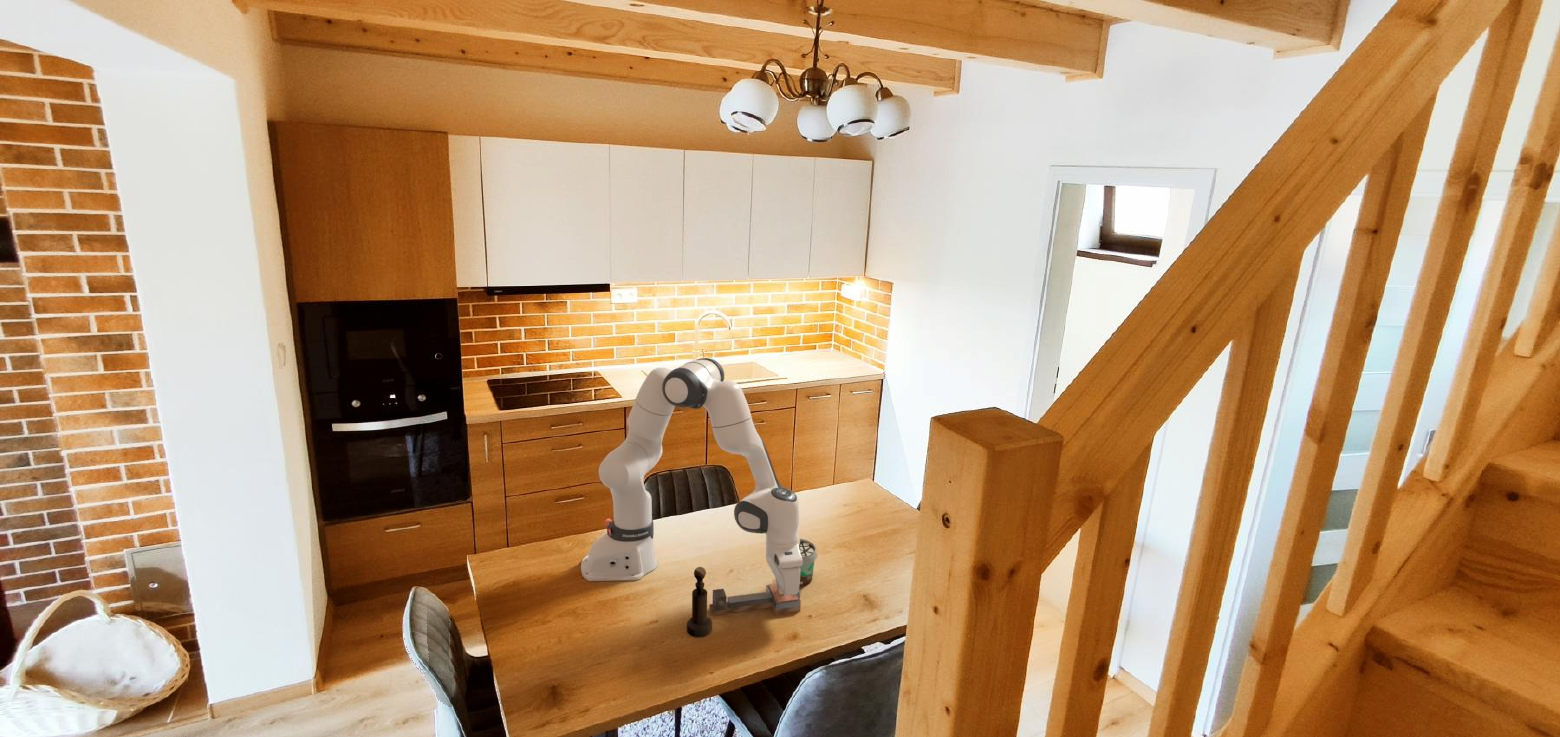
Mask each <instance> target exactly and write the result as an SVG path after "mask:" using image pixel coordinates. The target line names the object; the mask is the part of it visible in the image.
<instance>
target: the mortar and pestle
mask: <svg viewBox="0 0 1560 737" xmlns="http://www.w3.org/2000/svg"><path fill="white" fill-rule="evenodd" d="M706 575H707V571H706V569H705V568H704V567H703V566H697V567H695V569H694V571H693V576H694V577H695V579H696V582H695V589H693V590H692V593H691V603H692V604H691V618H690V617H689V619H688V620H687V622H686V632H687V634H688V635H689V636H691V637H693V638H704V637H707V636H708V635H710V634H711V633H712V632H713V621H712V619H711V618H710V617H709V616H708V591H707V589H705V582H704V578H705V577H706Z"/></svg>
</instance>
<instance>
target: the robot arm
mask: <svg viewBox="0 0 1560 737" xmlns="http://www.w3.org/2000/svg"><path fill="white" fill-rule="evenodd" d="M676 407H679V408H685V409H687V408H689V409H694V410H700V409H701V408H702V407H703V408H705V410H706V412H707V413H708V417H709V420H710V424H711V428H712V433H713V437H714V439H715V441H716V443H717V445H718V447H719V448H721V450H723V451H724V452H727V453H729V454H732V455H741V456H743V457H744V459H746V460H747V462H748V466H749V468H750V470H751V473H752V477H753V478H754V482H755V487H754V490H753V491H752V492H751V493H749V494H748V495H746V496H745V497H743V498H742V499H741V500H740V501H739V502H737V503H736V504H735V506H734V509H733V518H734V520H735V522H736V524H737V526H738V527H739V528H740V529H741V530H742V531H745V532H747V533H751V534H765V560H766V563H767V564H768V567H769V568H770V570H771V572H772V574H773V575H774V578H775V584H776V589H777V591H778V593H779V594H780V595H783V594H785V595H794V594H797V593H798V591H799V592H800V587H799V584H800V566H802V557H801V554H800V551H799V544H800V543H799V542H800V539H799V532H798V528H799V526H800V503H799V499H798V496H797V494H796V493H795V491H793V490H791V489H789V488H787V487H783V486H782V484H781V482H780V481H779V479H778V477H777V473H776V472H775V469H774V466H773V463H772V460H771V458H770V455H769V452H768V449H767V447H766V445H765V442H764V440H763V438H762V436H761V435H760V433H758V431H757V429H756V427H755V424H754V421H753V417H752V414H751V410H750V407H749V404H748V401H747V399H746V397H745V393H744V391H743V389H742V387H741V386H740V384H739V383H737V382H735V381H732V380H725V371H724V368H723V366H722V365H721V363H719V362H718V361H717V360H716V359H713V358H709V357H708V358H707V357H702V358H698V359H696V360H695V359H694V360H691V361H689V362H686V363H684V364H683V365H680V366H678V367H676V368H674V369H672V370H671V369H669V368H666V367H656V368H654V369H652V370H651V371H650V372H649V373H648V375H647V376H646V378H645V379H644V381H643V382H642V385H641V386H640V388H639V390H638V392H637V394H636V397H635V399H634V402H633V404H632V408H631V410H630V412H629V414H628V417H627V419H626V423H627V427H628V431H627V432H628V433H627V436H626V437H625V439H624V441H623V442H622V443H621V444H620V445H619V446H617V447H616V448H615V449H613V450H611V451H609V453H608V454H607V455H606V456H605V457H604V458H603V460H602V461H601V463H600V464H599V467H598V477H599V479H600V481H601V482H602V484H603V485H604V486H605V487H606V488H608V489H609V490H610V493H611V497H612V504H613V520H612V519H611V518H606V519H605V520H604V526H605V527H606V533H605V534H603V535H602V536H601V537H600V538H598V539H596V540H595V541H594V542H593V543H592V544H591V546H590V548H589V552H588V554H587V555H585V557H584V558H583V559H582V560H581V562H580V563H581V564H580V573H581V575H582V577H583V578H584V579H585V580H587V582H598V581H599V582H600V581H601V582H605V581H607V582H609V581H610V582H611V581H613V582H614V581H638V580H641V579H642V578H643V577H644V575H646V574H648V573H651V572H652V571H653V570H655V568H657V566H658V563H659V561H658V559H657V555H656V551H655V546H654V535H655V526H654V525H655V524H654V519H653V516H652V514H653V509H652V508H653V507H652V502H653V500H652V495H651V493H650V492H649V491H648V490H647V489H646V488H645V484H644V478H645V475H646V474H647V473H648V472H650V471H651V470H652V469H653V468H654V467H655V466H657V463H659V461H660V459H661V457H662V456H663V444H662V443H663V440H664V439H663V438H664V436H665V432H666V429H667V427H668V425H669V422H670V420H671V417H672V415H673V413H674V410H675V408H676Z"/></svg>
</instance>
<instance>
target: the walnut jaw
mask: <svg viewBox="0 0 1560 737" xmlns="http://www.w3.org/2000/svg"><path fill="white" fill-rule="evenodd" d="M765 592H767V591H766V590H765ZM727 597H728V596H727V593H726V591H725V589H724V588H717V589H712V603H709V604H708V606H709V607H708V608H709V609H708V610H709V613H710V616H716V615H717V616H718V615H725V614H733V613H740V612H741V613H742V612H747V611H754V610H762V609H768V608H772V610H773V611H774V614H775V615H780V614H781V615H782V614H787V613H795V612H801V606H797V607H790V608H782V609H775V607H774V605H773V603H772V602H771V603H763V604H755V605H748V606H740V607H732V608H729V605H728V602H727Z"/></svg>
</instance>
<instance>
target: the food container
mask: <svg viewBox="0 0 1560 737" xmlns="http://www.w3.org/2000/svg"><path fill="white" fill-rule="evenodd" d="M798 544H799V551H800V554H801V557H802V566H800V584H799V588H801V587H805V586H808V585H811V583H812V581H813V574H814V566H815V561H816V559H817V558H818V551H817V547H816V546H815V544H814V543H813V542H812V541H810V540H807V539H804V538H800V539H799V543H798Z"/></svg>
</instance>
